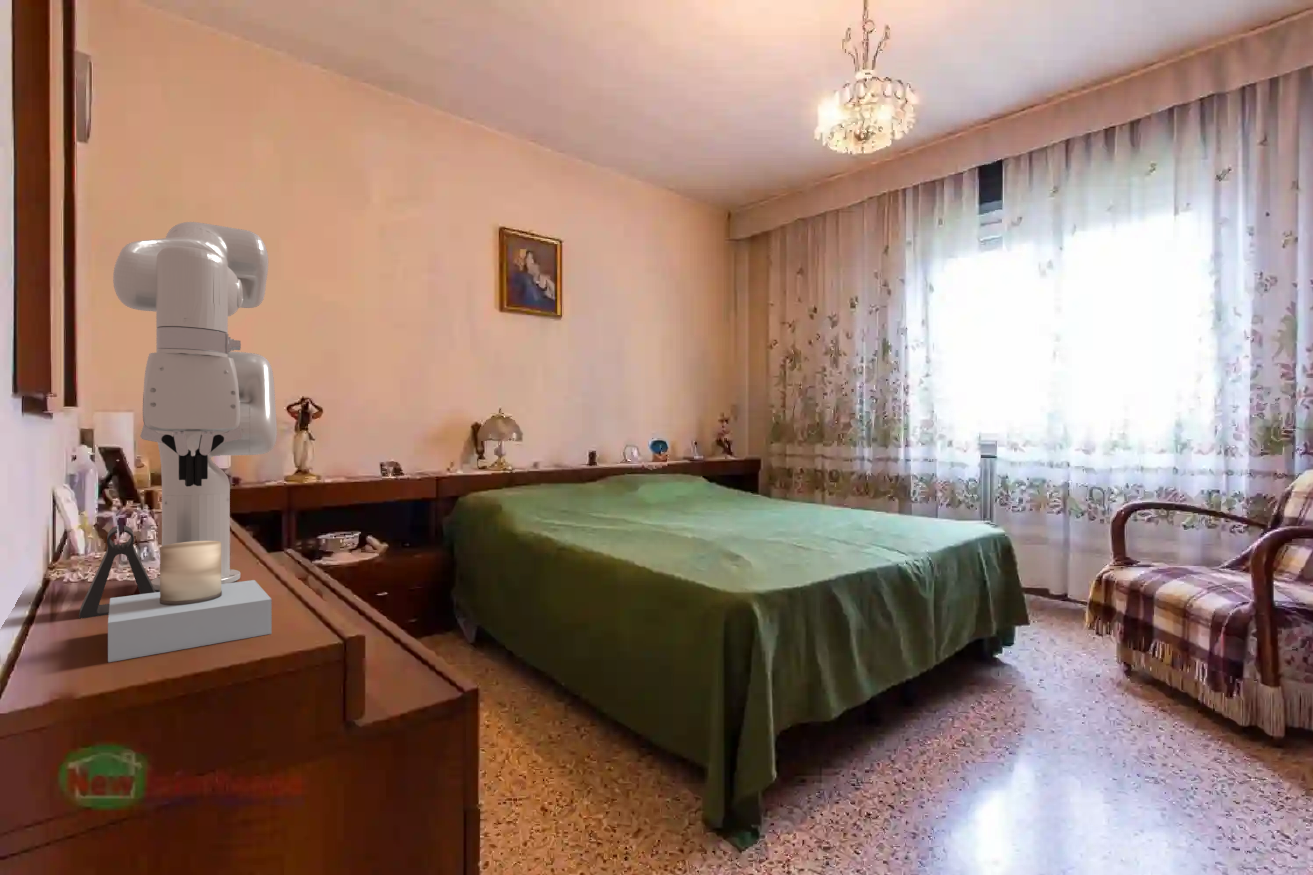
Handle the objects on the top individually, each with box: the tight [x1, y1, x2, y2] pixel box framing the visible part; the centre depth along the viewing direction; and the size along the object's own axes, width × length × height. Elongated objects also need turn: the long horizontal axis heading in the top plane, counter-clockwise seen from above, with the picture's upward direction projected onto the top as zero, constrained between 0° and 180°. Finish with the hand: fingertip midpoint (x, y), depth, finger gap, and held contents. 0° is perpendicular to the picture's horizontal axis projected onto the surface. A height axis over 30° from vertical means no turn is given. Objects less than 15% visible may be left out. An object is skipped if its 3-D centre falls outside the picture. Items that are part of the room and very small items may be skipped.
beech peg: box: [159, 541, 222, 605], centre depth 82 cm, size 6×6×11 cm
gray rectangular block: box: [107, 579, 273, 663], centre depth 82 cm, size 14×16×4 cm
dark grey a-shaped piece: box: [78, 525, 157, 619], centre depth 93 cm, size 9×6×12 cm, turn 130°
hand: (193, 485), depth 82 cm, fingers closed
